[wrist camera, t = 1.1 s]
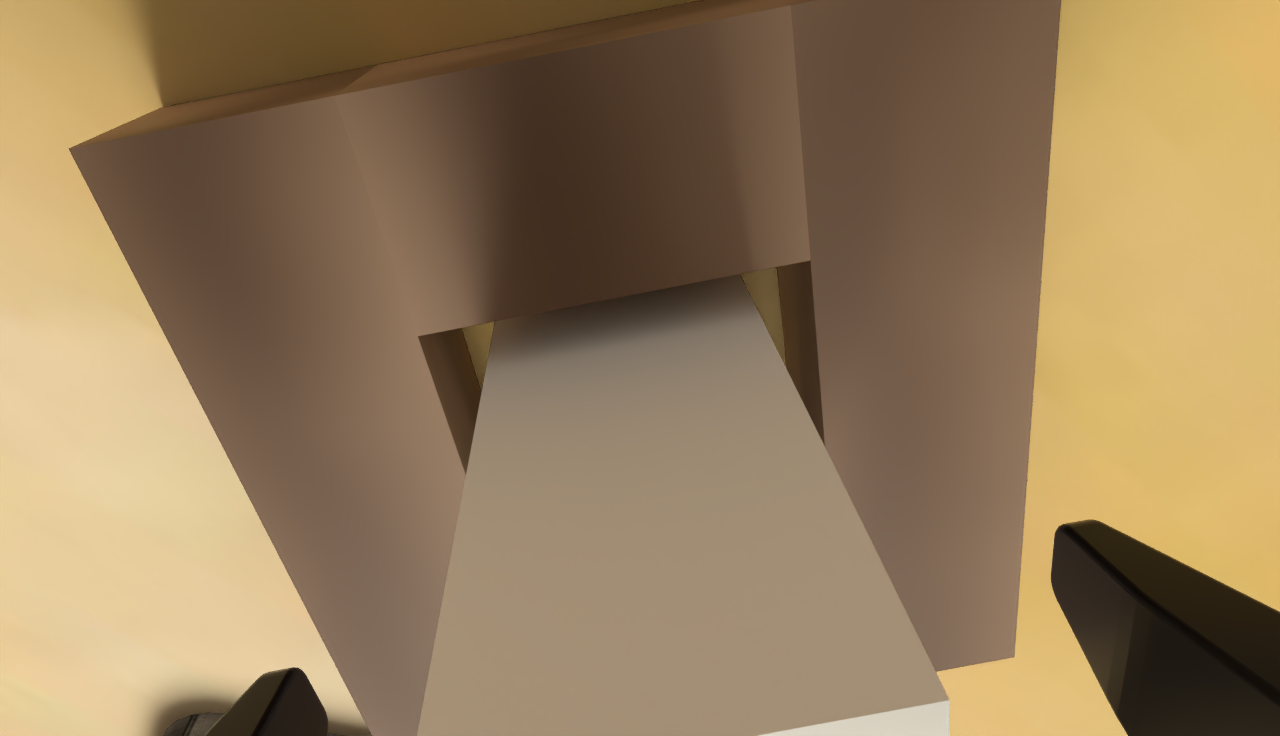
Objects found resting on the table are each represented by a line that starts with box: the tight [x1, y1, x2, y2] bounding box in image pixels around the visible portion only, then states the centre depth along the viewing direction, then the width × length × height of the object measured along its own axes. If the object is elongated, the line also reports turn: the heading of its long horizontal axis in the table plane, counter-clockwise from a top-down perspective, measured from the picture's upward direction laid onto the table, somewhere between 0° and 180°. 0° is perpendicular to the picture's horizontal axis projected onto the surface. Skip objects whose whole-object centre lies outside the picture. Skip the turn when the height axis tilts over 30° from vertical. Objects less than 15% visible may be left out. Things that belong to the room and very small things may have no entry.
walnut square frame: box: [69, 0, 1061, 736], centre depth 14 cm, size 12×12×2 cm
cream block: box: [417, 274, 950, 736], centre depth 11 cm, size 4×4×9 cm
